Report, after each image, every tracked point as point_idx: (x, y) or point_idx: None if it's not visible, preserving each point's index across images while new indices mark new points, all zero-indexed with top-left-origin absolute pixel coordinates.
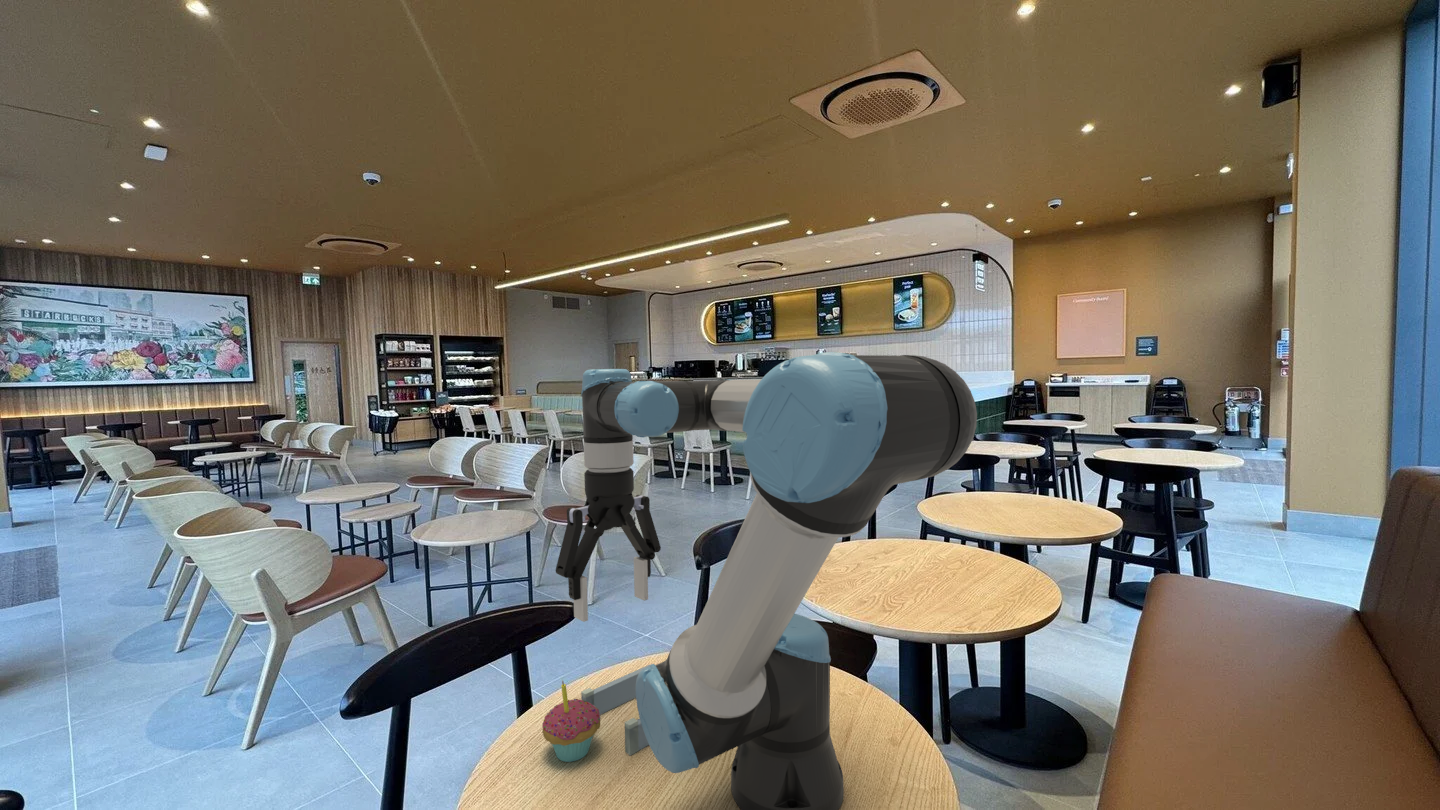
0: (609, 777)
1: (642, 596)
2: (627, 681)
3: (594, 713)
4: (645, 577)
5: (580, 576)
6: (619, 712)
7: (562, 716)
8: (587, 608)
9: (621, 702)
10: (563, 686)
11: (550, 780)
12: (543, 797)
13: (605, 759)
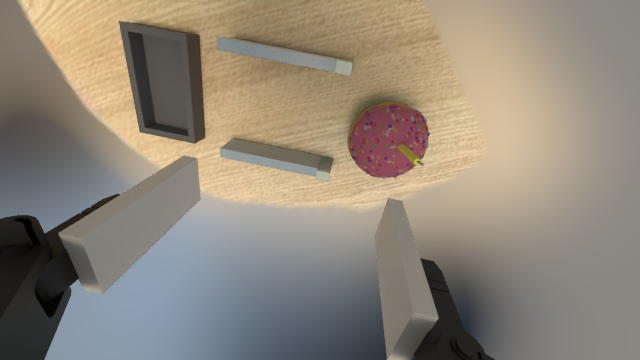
0: (399, 51)
1: (192, 171)
2: (265, 155)
3: (371, 118)
4: (139, 191)
5: (448, 335)
6: (296, 138)
7: (412, 143)
8: (393, 218)
9: (282, 149)
10: (420, 159)
11: (436, 111)
12: (463, 95)
13: (374, 84)
